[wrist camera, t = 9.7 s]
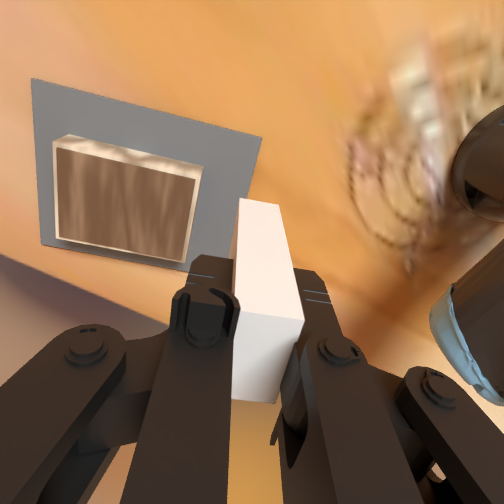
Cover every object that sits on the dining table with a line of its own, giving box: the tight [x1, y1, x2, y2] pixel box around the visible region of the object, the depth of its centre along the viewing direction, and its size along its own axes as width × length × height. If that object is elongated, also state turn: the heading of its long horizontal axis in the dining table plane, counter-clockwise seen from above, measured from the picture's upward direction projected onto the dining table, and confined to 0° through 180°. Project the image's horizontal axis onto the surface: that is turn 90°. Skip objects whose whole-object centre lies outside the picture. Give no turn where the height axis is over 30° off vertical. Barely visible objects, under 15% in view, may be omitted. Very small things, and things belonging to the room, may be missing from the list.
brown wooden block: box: [52, 134, 204, 263], centre depth 41 cm, size 4×12×16 cm
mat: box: [31, 78, 262, 272], centre depth 44 cm, size 26×21×1 cm
